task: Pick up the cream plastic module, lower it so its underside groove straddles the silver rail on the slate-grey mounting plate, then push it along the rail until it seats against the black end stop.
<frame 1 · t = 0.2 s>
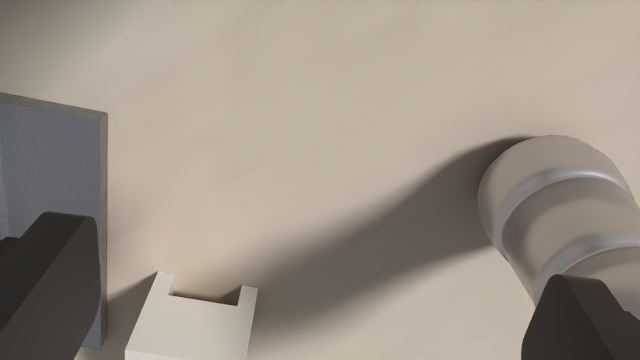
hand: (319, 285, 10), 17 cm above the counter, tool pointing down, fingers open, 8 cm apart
module: (205, 307, 34), on the counter
plastic bottle: (532, 174, 29), on the counter
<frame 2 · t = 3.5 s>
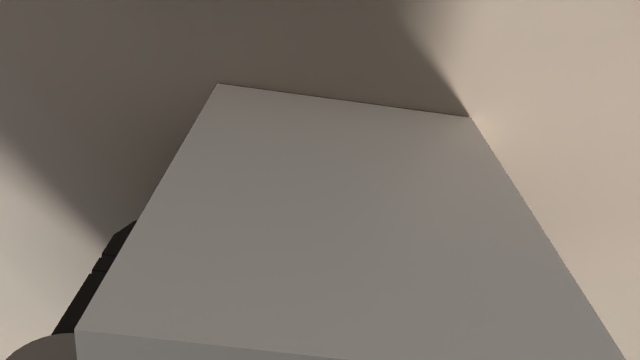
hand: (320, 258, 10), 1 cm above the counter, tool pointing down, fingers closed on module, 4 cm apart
module: (322, 241, 11), on the counter, touching gripper
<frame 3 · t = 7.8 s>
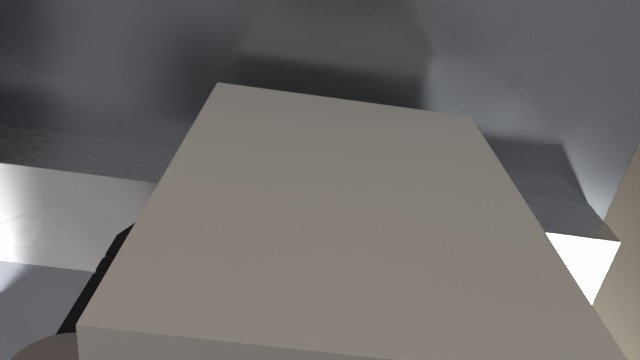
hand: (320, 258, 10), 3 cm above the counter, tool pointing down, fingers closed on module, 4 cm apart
rail plate: (239, 180, 13), on the counter
module: (322, 240, 11), point 2 cm above the counter, touching gripper
when the fingers open (3 cm above the counter, at t = 7.9 s): module stays where it is, resting on rail plate.
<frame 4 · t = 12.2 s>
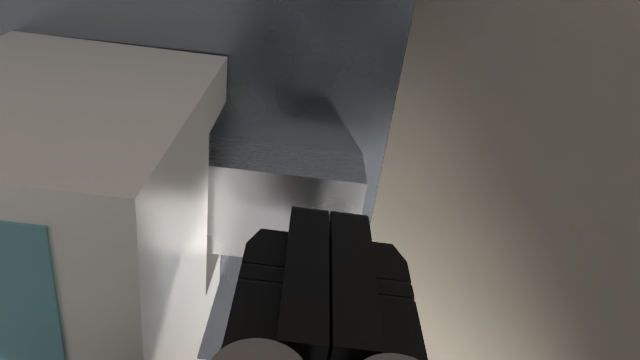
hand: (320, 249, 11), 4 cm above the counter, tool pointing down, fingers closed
rail plate: (56, 140, 14), on the counter
module: (127, 170, 13), point 1 cm above the counter, touching gripper, rail plate
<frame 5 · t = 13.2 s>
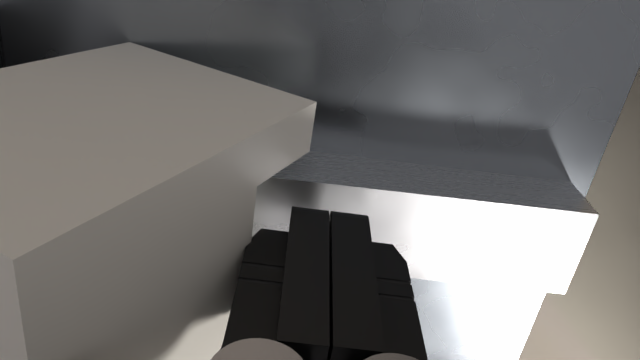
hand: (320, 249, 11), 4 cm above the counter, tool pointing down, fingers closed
rail plate: (258, 167, 14), on the counter
module: (208, 200, 12), point 2 cm above the counter, tilted 28°, touching gripper, hand, rail plate
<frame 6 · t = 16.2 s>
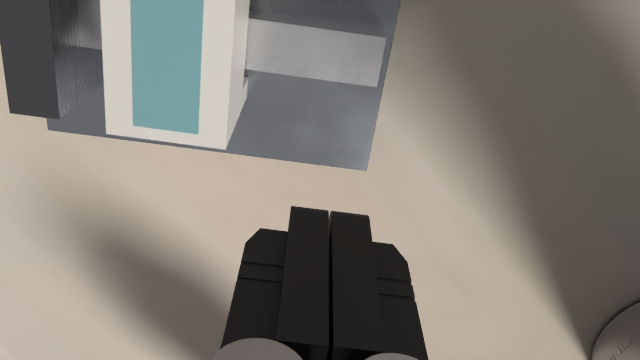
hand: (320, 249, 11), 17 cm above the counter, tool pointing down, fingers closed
rail plate: (219, 26, 25), on the counter
module: (201, 27, 25), point 1 cm above the counter, touching rail plate
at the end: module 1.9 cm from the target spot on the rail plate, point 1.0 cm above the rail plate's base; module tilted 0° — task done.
